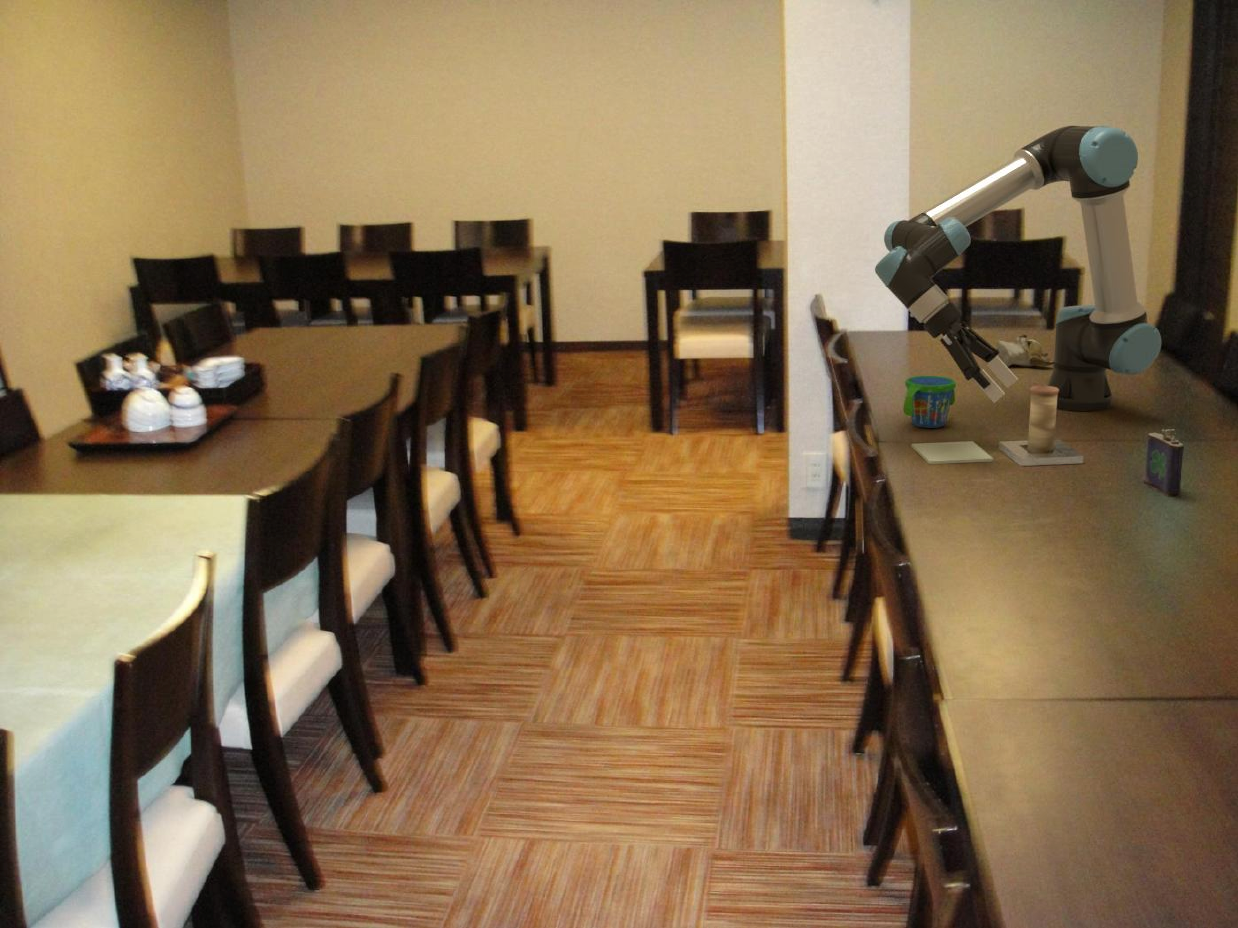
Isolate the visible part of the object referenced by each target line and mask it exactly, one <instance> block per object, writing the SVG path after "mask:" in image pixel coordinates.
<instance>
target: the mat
mask: <svg viewBox="0 0 1238 928" xmlns="http://www.w3.org/2000/svg"><path fill="white" fill-rule="evenodd" d="M911 448H912V449H913V450H914V451H915V452H916V453H918V454H919V456H920V457H922V458H923V460H924V461H925V462H926V463H927V464H929V465H940V464H941V465H943V464H965V463H989V462H991V463H992V462H994V458H993V457H992V456H991V455H990V454H989V453H987V452H986V451H985V450H984V449H983V448H981V447H980V446H979V445H978V444H977V443H975V442H974V441H972V440H971V441H967V440H966V441H947V442H924V443H922V442H921V443H911Z"/></svg>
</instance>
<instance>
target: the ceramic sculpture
mask: <svg viewBox="0 0 1238 928" xmlns="http://www.w3.org/2000/svg"><path fill="white" fill-rule="evenodd" d="M996 341H997V342H996V344H997V345H996V349H997V350H998V351H999V352H1000V353H999V354H998V355H997V356H998V357H999V358H1000V359H1001V361H1002V362H1003V363H1004V364H1005V365H1006V366H1007V367H1008V368H1009V367H1010V366H1011V365H1017V366H1019V367H1024V368H1025V367H1026V368H1032V367H1034V366H1036V367H1040V368H1043V367H1049V366H1051V365H1054V359H1051V358H1049V357H1048V356H1049V353H1043V348H1042V345H1041V343H1039V342H1038V341H1037V340H1034V339H1029V338H1028V335H1026V334H1024V335H1019V336H1018V337H1016V338H1015V339H1014V340H1013V341H1012V342H1010V341H1008V342H1007V341H1005V340H1000V339H997V340H996Z"/></svg>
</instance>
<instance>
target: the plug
mask: <svg viewBox="0 0 1238 928" xmlns="http://www.w3.org/2000/svg"><path fill="white" fill-rule="evenodd" d="M1029 389H1030V405H1029V406H1030V407H1029V419H1028V420H1029V421H1028V436H1027V440H1028V449H1027V452H1029V453H1030V454H1041V453H1053V449H1054V439H1055V435H1056V433H1055V431H1056V422H1057V421H1056V420H1057V409H1058V408H1057V395H1058V393H1059V389H1058V388H1056V387H1052V386H1047V385H1033V386H1031V387H1030V388H1029Z"/></svg>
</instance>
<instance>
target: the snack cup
mask: <svg viewBox="0 0 1238 928" xmlns="http://www.w3.org/2000/svg"><path fill="white" fill-rule="evenodd" d="M904 382H905V383H904V384H905V386H906V389H907V392H906V394H905V397H904V403H903V407H902V408H903V410H902V411H903V414H904V415H905V416H907V417H910V422H911V424H912V425H914V426H916V427H918V428H924V429H925V428H926V429H937V428H941V427H943V426H946V423H947V420H948V416H949V411H950V406H953V405H954V404H955V402H956V394H955V388H956V386H957V383H956V381H955V380H954V379H953V378H949V377H946V376H937V375H918V376H917V375H916V376H911V377H908V378H907V379H906V380H905V381H904Z"/></svg>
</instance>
